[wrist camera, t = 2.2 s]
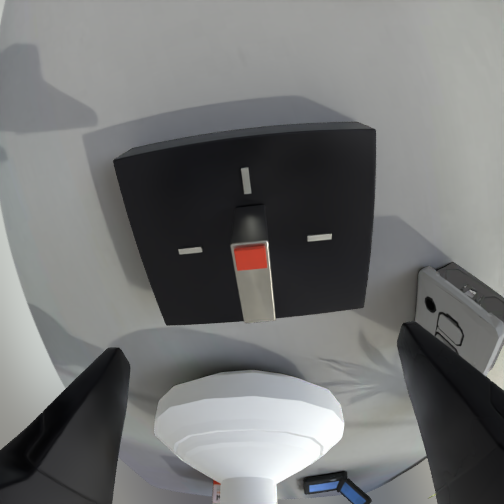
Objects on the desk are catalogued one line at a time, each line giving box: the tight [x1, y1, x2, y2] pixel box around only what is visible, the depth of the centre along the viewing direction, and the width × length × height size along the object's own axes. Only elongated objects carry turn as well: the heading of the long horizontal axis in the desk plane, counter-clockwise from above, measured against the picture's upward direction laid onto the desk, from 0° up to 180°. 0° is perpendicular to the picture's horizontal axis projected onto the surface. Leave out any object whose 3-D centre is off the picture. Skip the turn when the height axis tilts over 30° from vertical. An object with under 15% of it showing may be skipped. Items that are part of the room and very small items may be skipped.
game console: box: [304, 472, 372, 504], centre depth 49 cm, size 16×14×9 cm
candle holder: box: [154, 370, 344, 504], centre depth 23 cm, size 20×20×19 cm
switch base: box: [113, 122, 376, 326], centre depth 18 cm, size 14×12×3 cm
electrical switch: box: [415, 262, 504, 376], centre depth 20 cm, size 9×5×9 cm, turn 17°
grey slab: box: [230, 205, 276, 323], centre depth 15 cm, size 5×2×4 cm, turn 7°
